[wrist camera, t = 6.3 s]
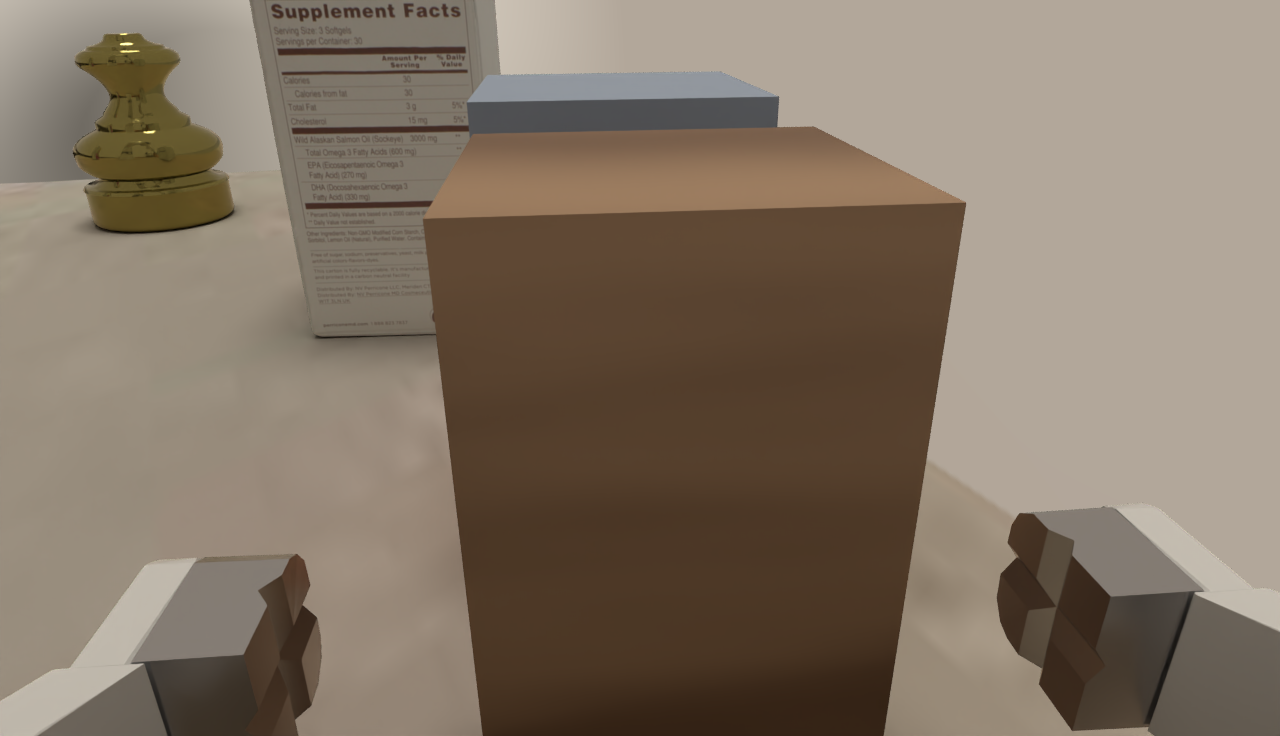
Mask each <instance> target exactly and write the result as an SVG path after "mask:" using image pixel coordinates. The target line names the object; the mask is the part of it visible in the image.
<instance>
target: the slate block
mask: <svg viewBox="0 0 1280 736" xmlns="http://www.w3.org/2000/svg"><path fill="white" fill-rule="evenodd" d="M778 105H779V96H776V95H774V94H772V93H769V92H767V91H765V90H762V89H760V88H758V87H755V86H753V85H751V84H748V83H746V82H744V81H741V80H739V79H737V78H734V77H732V76H730V75H727V74H725V73H722V72H660V73H659V72H658V73H592V74H531V75H530V74H527V75H526V74H525V75H487V76H486V77H485V79H484V80H483V81H482V83H481V84H480V85H479V87H478V88H477V89H476V91H475V92H474V93H473V94H472V96H471V97H470V98H469V100H468V101H467V113H468V124H469V136H470V138H471V136H472V135H473V134H493V133H540V132H587V131H633V130H680V129H727V128H774V127H777V121H778Z"/></svg>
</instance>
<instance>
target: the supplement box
mask: <svg viewBox="0 0 1280 736" xmlns="http://www.w3.org/2000/svg"><path fill="white" fill-rule="evenodd" d="M250 6H251V11H252V17H253V23H254V28H255V32H256V38H257V43H258V49H259V54H260V59H261V63H262V68H263V75H264V81H265V86H266V92H267V98H268V103H269V108H270V114H271V120H272V125H273V130H274V136H275V142H276V147H277V152H278V157H279V162H280V168H281V173H282V178H283V184H284V189H285V194H286V199H287V205H288V211H289V215H290V220H291V225H292V231H293V236H294V242H295V247H296V252H297V257H298V262H299V267H300V273H301V278H302V283H303V288H304V292H305V297H306V302H307V308H308V314H309V319H310V324H311V328H312V332H313V334H315V335H318V336H321V337H326V336H379V335H417V334H436V329H435V320H434V312H433V303H432V294H431V286H430V277H429V269H428V260H427V252H426V243H425V234H424V226H423V217H424V216H425V214H426V212H427V211H428V209H429V207H430V206H431V204H432V202H433V200H434V199H435V197H436V195H437V194H438V192H439V190H440V189H441V187H442V185H443V184H444V182H445V180H446V179H447V177H448V175H449V173H450V172H451V170H452V168H453V167H454V165H455V163H456V162H457V160H458V158H459V157H460V155H461V153H462V152H463V150H464V148H465V146H466V145H467V143H468V141H469V140H470V136H469V124H468V113H467V101H468V100H469V98H470V97H471V96H472V94H473V93H474V92H475V91H476V89H477V88H478V87H479V85H480V84H481V83H482V81H483V80H484V79H485V77H486V76H487V75H500V62H499V49H498V39H497V38H498V37H497V24H496V12H495V0H250Z"/></svg>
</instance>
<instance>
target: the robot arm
mask: <svg viewBox="0 0 1280 736" xmlns="http://www.w3.org/2000/svg"><path fill="white" fill-rule="evenodd" d="M1008 544H1009V546H1010V547H1011V549H1012V551H1013V552H1014V554H1015V555H1016V557H1017V558H1016V559H1015V560H1014V561H1013V562H1012V563H1011V564H1010V565H1009V566H1008V567H1007V568H1006V569H1005V570H1004V571H1003V572H1002V573H1001V576H1000V582H999V588H998V593H997V602H998V609H999V616H1000V622H1001V624H1002V627H1003V629H1004V632H1005V634H1006V636H1007V639H1008V640H1009V641H1010V643H1011V644H1012V646H1013V647H1014V649H1015V650H1016V652H1017V653H1018V655H1020V656H1022V657H1023V658H1025V659H1027V660H1028V661H1030V662H1032V663H1034V664H1035V665H1037V666H1039V667H1040V668H1042V669H1041V675H1040V681H1039V685H1040V686H1041V688H1042V689H1043V690H1044V692H1045V693H1046V695H1047V696H1048V697H1049V699H1050V700H1051V702H1052V703H1053V705H1054V706H1055V707H1056V709H1057V710H1058V712H1059V713H1060V714H1061V716H1062V717H1063V719H1064V720H1065V721H1066V723H1067V724H1068V726H1069V727H1070V728H1071V730H1072V731H1081V730H1100V729H1120V728H1139V727H1149V728H1148V731H1149V732H1150V733H1152V734H1153V735H1154V736H1280V593H1279V592H1276V591H1274V590H1272V589H1269V588H1257V589H1254V588H1253V587H1252V586H1250V585H1249V584H1248V583H1247V582H1246V581H1244V580H1243V579H1242V578H1241V577H1240V576H1239V575H1237V574H1236V573H1235V572H1234V571H1233V570H1231V569H1230V568H1229V567H1228V566H1227V565H1225V564H1224V563H1223V562H1222V561H1221V560H1220V559H1218V558H1217V557H1216V556H1215V555H1213V554H1212V553H1211V552H1210V551H1209V550H1208V549H1207V548H1205V547H1204V546H1203V545H1202V544H1200V543H1199V542H1198V541H1197V540H1196V539H1195V538H1193V537H1192V536H1191V535H1190V534H1189V533H1188V532H1186V531H1185V530H1184V529H1183V528H1181V527H1180V526H1179V525H1178V524H1177V523H1176V522H1174V521H1173V520H1172V519H1171V518H1170V517H1169V516H1167V515H1166V514H1165V513H1164V512H1163V511H1161V510H1160V509H1159V508H1157V507H1154V506H1152V505H1149V504H1146V503H1136V504H1126V505H1115V506H1103V507H1101V508H1090V509H1076V510H1061V511H1047V512H1031V513H1019V515H1018V516H1017V518H1016V519H1015V521H1014V522H1013V524H1012V526H1011V530H1010V535H1009V539H1008ZM309 587H310V582H309V578H308V574H307V570H306V566H305V562H304V560H303V559H302V558H301V557H300V556H299V555H297V554H284V555H257V556H230V557H205V558H203V559H201V558H185V559H167V560H156V561H153V562H151V563H149V564H147V565H145V566H144V567H143V568H142V569H141V571H140V572H139V573H138V575H137V576H136V578H135V579H134V580H133V582H132V583H131V584H130V586H129V587H128V588H127V590H126V591H125V593H124V594H123V595H122V597H121V598H120V599H119V601H118V602H117V604H116V605H115V606H114V608H113V609H112V610H111V612H110V613H109V614H108V616H107V617H106V619H105V620H104V621H103V623H102V624H101V625H100V627H99V628H98V630H97V631H96V632H95V634H94V635H93V636H92V638H91V639H90V640H89V642H88V643H87V645H86V646H85V647H84V649H83V650H82V651H81V653H80V654H79V655H78V657H77V658H76V660H75V661H74V662H73V664H72V665H71V666H70V668H66V669H53V670H51V671H50V672H48V673H46V674H45V675H43V676H41V677H40V678H38V679H36V680H35V681H33V682H31V683H30V684H28V685H26V686H25V687H23V688H21V689H20V690H18V691H16V692H15V693H13V694H11V695H10V696H8V697H6V698H5V699H3V700H1V701H0V736H298V732H297V727H296V723H295V719H296V718H297V717H299V716H300V715H301V714H302V713H303V712H304V711H306V710H307V709H308V708H309V707H310V706H311V705H312V702H313V698H314V695H315V692H316V689H317V686H318V681H319V673H320V666H321V658H322V655H321V635H320V630H319V625H318V620H317V617H316V616H315V615H313V614H312V613H311V612H310V611H309V610H308V609H306V608H305V607H304V606H303V602H304V600H305V597H306V595H307V592H308V590H309Z"/></svg>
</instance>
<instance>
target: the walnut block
mask: <svg viewBox="0 0 1280 736" xmlns="http://www.w3.org/2000/svg"><path fill="white" fill-rule="evenodd" d="M965 207H966V202H964V201H962V200H960V199H958V198H956V197H954V196H952V195H950V194H948V193H946V192H944V191H942V190H940V189H938V188H936V187H934V186H932V185H930V184H928V183H926V182H924V181H922V180H920V179H918V178H916V177H914V176H912V175H910V174H908V173H906V172H904V171H902V170H900V169H898V168H896V167H894V166H892V165H890V164H888V163H886V162H883V161H882V160H880V159H878V158H876V157H873V156H872V155H870V154H868V153H866V152H864V151H862V150H860V149H857V148H856V147H854V146H852V145H849V144H848V143H846V142H844V141H841V140H839V139H837V138H836V137H833V136H832V135H830V134H828V133H825V132H824V131H822V130H819V129H818V128H816V127H774V128H727V129H680V130H633V131H587V132H540V133H493V134H473V135H472V136H471V138H470V140H469V141H468V143H467V145H466V146H465V148H464V150H463V152H462V153H461V155H460V157H459V158H458V160H457V162H456V163H455V165H454V167H453V168H452V170H451V172H450V173H449V175H448V177H447V179H446V180H445V182H444V184H443V185H442V187H441V189H440V190H439V192H438V194H437V195H436V197H435V199H434V200H433V202H432V204H431V206H430V207H429V209H428V211H427V212H426V214H425V216H424V217H423V226H424V234H425V243H426V252H427V260H428V269H429V277H430V286H431V294H432V303H433V312H434V320H435V329H436V337H437V346H438V355H439V363H440V372H441V380H442V389H443V398H444V406H445V415H446V423H447V432H448V441H449V449H450V458H451V466H452V475H453V484H454V492H455V501H456V509H457V518H458V526H459V535H460V544H461V552H462V561H463V569H464V578H465V587H466V595H467V604H468V612H469V621H470V630H471V638H472V647H473V655H474V664H475V673H476V681H477V690H478V698H479V707H480V715H481V724H482V733H483V736H883V735H884V729H885V723H886V716H887V710H888V703H889V697H890V690H891V684H892V677H893V671H894V665H895V658H896V652H897V645H898V639H899V632H900V626H901V620H902V613H903V607H904V600H905V594H906V587H907V581H908V574H909V568H910V562H911V555H912V549H913V542H914V536H915V529H916V523H917V516H918V510H919V504H920V497H921V491H922V484H923V478H924V471H925V465H926V459H927V452H928V446H929V439H930V433H931V426H932V420H933V413H934V407H935V400H936V394H937V387H938V380H939V374H940V368H941V361H942V355H943V349H944V343H945V336H946V329H947V323H948V317H949V310H950V304H951V297H952V291H953V285H954V278H955V272H956V265H957V259H958V252H959V246H960V239H961V233H962V227H963V220H964V214H965Z"/></svg>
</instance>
